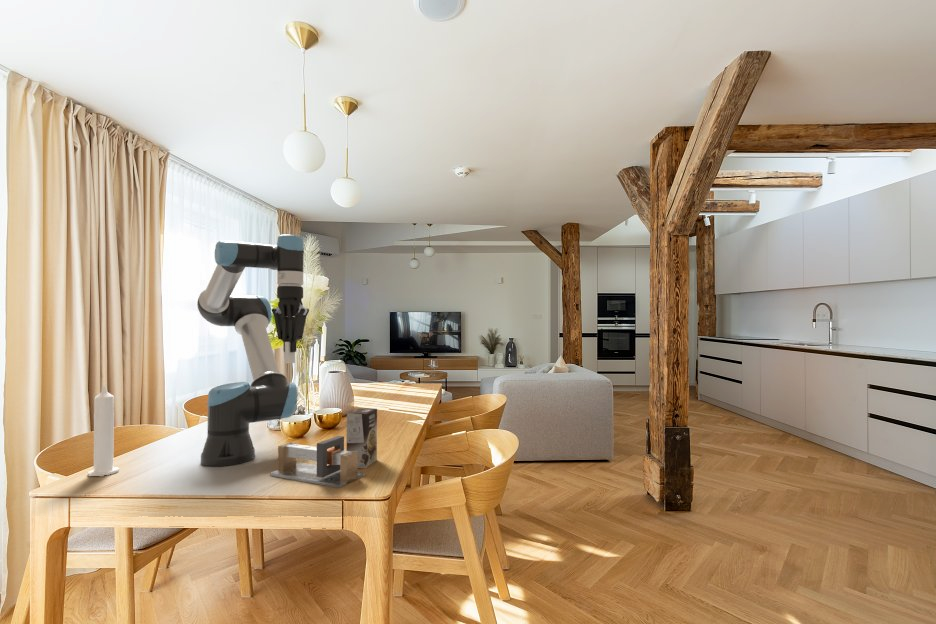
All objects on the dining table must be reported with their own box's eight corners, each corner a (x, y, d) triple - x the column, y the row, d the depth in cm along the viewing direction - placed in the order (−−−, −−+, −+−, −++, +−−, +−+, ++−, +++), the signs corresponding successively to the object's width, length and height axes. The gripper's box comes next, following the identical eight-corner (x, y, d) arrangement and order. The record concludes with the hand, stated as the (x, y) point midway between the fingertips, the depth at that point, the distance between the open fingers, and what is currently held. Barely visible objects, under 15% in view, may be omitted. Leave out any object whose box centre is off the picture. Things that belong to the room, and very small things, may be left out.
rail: (269, 475, 137) (270, 447, 137) (298, 464, 147) (298, 439, 147) (339, 487, 127) (339, 458, 127) (364, 475, 137) (364, 447, 137)
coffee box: (365, 469, 143) (366, 413, 143) (345, 467, 144) (345, 412, 144) (377, 460, 152) (378, 408, 152) (358, 458, 153) (358, 407, 153)
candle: (85, 478, 134) (86, 387, 134) (90, 471, 140) (91, 384, 141) (116, 474, 137) (117, 385, 138) (120, 467, 144) (121, 382, 144)
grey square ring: (316, 476, 131) (316, 443, 131) (338, 467, 139) (338, 435, 140) (322, 477, 130) (322, 444, 130) (343, 468, 139) (344, 436, 139)
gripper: (264, 285, 149) (264, 363, 148) (297, 284, 143) (297, 365, 143) (283, 287, 155) (282, 361, 155) (315, 286, 150) (315, 362, 150)
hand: (289, 363), depth 149 cm, fingers closed
